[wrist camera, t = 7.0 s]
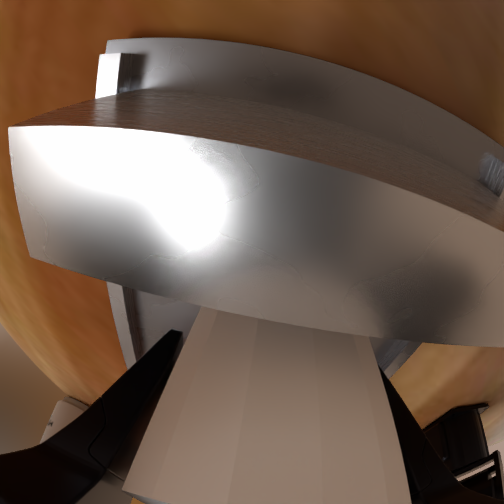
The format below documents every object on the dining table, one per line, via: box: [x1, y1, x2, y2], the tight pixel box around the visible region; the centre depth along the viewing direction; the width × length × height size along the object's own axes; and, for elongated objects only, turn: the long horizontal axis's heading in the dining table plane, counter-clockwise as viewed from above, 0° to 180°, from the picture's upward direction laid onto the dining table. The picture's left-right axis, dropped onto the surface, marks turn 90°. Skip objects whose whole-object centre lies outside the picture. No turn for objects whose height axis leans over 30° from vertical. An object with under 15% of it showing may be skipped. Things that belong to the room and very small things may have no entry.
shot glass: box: [122, 306, 411, 504], centre depth 7 cm, size 7×7×7 cm
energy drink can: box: [40, 397, 89, 444], centre depth 20 cm, size 6×6×15 cm
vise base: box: [8, 38, 504, 379], centre depth 10 cm, size 14×21×6 cm, turn 169°
